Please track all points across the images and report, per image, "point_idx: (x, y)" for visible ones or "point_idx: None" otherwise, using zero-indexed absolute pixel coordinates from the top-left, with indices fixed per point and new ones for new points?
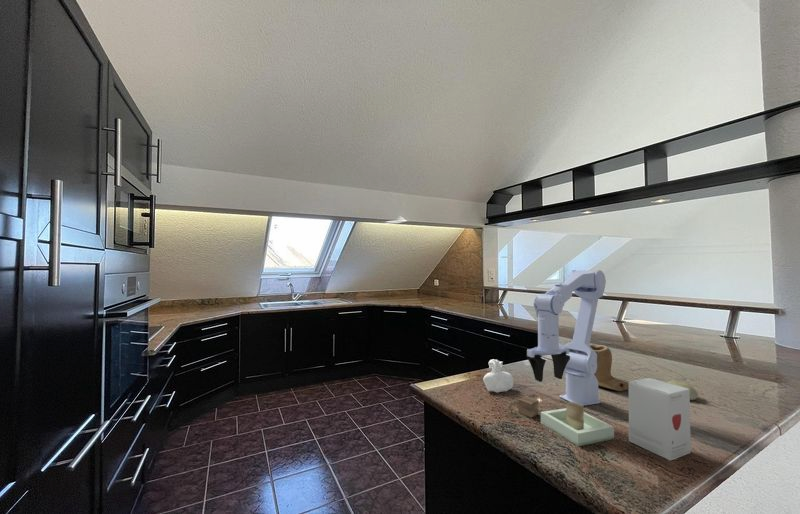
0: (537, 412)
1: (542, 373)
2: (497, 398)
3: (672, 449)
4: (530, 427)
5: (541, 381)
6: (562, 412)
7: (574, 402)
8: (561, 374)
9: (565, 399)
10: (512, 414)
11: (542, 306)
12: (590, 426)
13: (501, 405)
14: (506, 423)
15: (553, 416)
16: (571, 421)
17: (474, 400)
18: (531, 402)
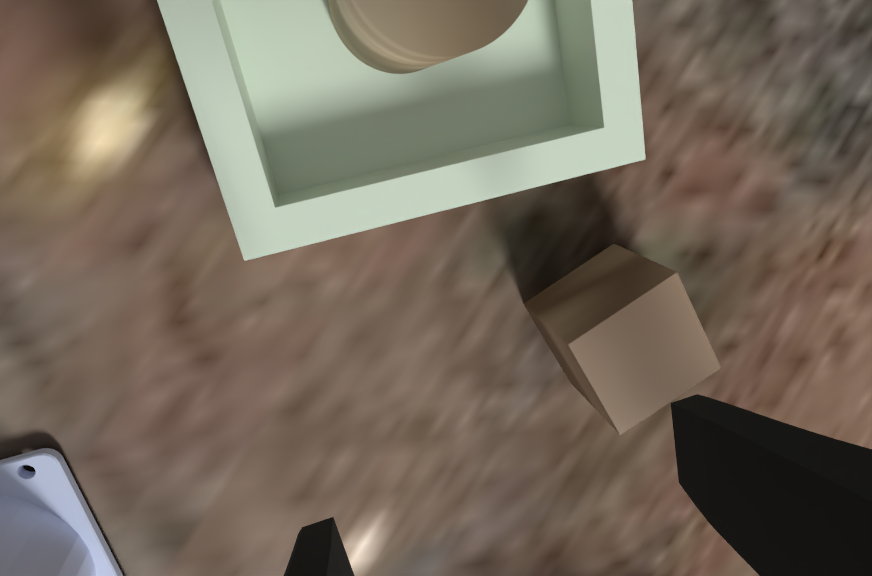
0: (537, 302)
1: (778, 446)
2: (664, 539)
3: None
4: (713, 89)
5: (685, 398)
6: (424, 168)
7: (396, 27)
8: (322, 564)
9: (118, 567)
10: (712, 296)
11: None
12: (223, 13)
13: None
14: (832, 161)
15: (521, 143)
16: None
17: None
18: (654, 301)
